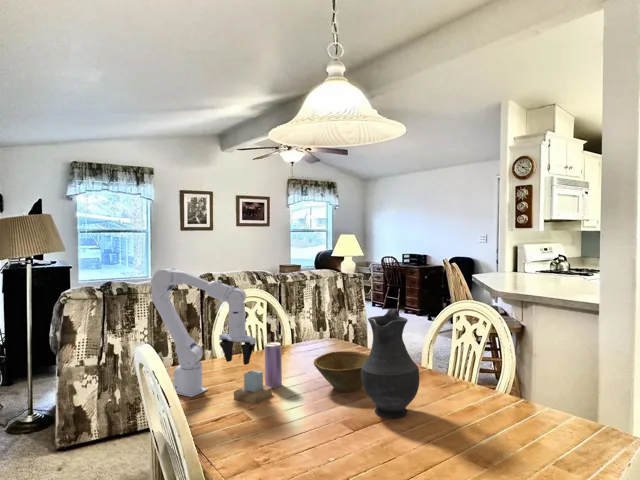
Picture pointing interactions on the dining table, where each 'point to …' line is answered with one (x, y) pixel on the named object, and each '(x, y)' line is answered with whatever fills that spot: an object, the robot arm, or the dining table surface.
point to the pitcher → (389, 367)
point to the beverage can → (273, 365)
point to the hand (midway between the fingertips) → (237, 362)
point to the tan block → (252, 394)
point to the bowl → (342, 369)
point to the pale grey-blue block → (253, 381)
